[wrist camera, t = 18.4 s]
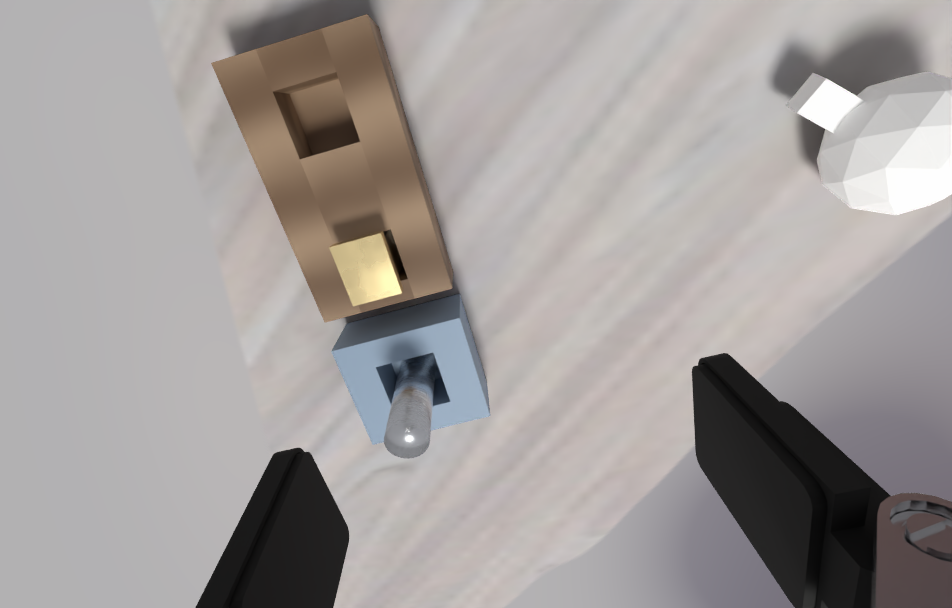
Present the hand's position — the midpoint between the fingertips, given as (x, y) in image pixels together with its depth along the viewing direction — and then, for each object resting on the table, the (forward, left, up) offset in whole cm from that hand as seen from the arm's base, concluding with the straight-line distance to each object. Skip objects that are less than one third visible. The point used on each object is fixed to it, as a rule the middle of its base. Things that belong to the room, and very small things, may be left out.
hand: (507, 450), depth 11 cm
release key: (0, -8, -26) cm, 27 cm away
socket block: (-5, -8, -27) cm, 29 cm away
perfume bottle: (+1, +28, -27) cm, 39 cm away
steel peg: (+10, -8, -26) cm, 29 cm away
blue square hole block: (+10, -8, -27) cm, 30 cm away
